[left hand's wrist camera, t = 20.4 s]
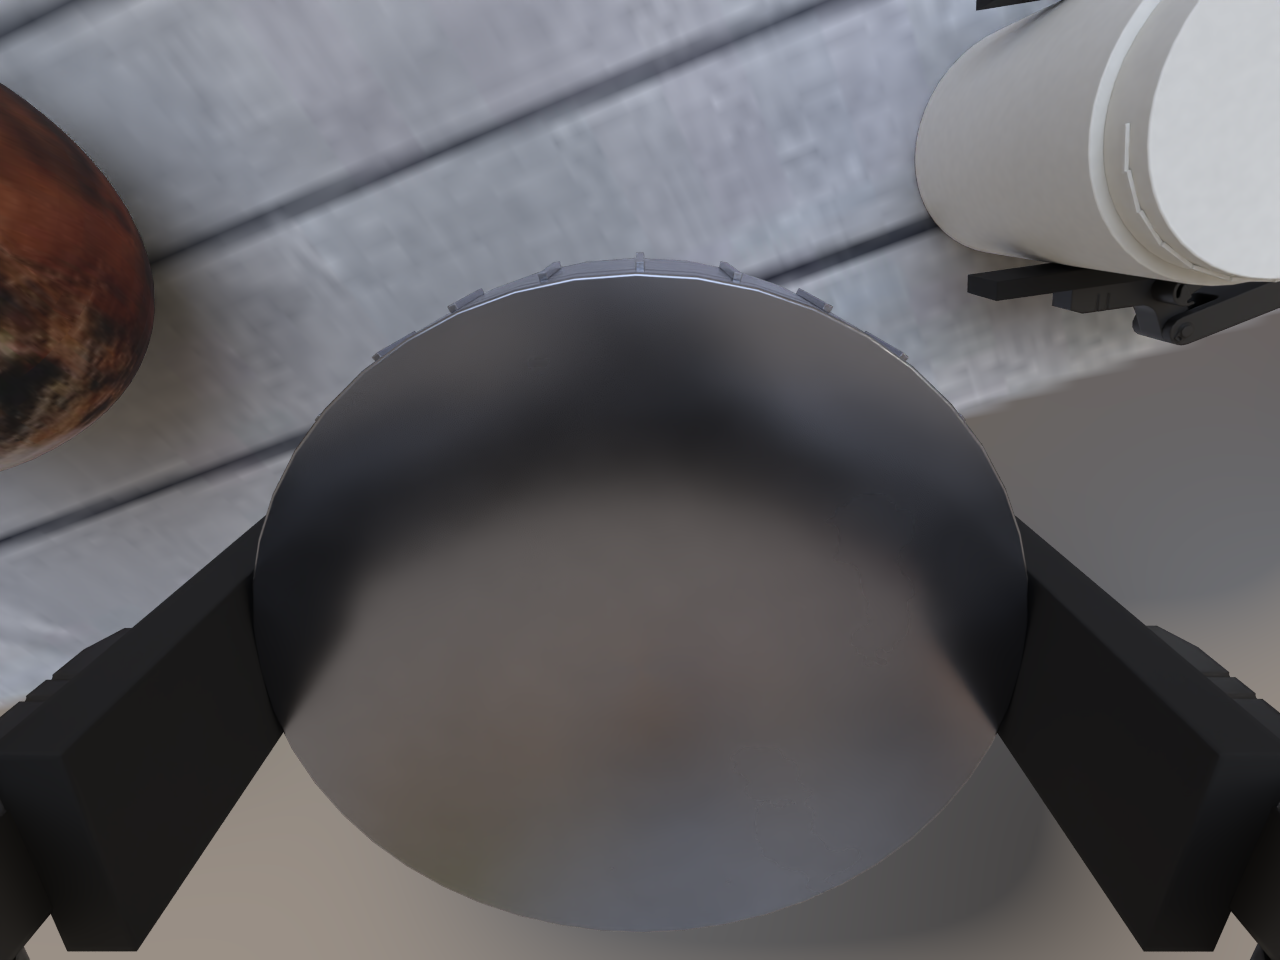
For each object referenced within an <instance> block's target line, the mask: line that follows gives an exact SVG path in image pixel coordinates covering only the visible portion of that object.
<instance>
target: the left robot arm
mask: <svg viewBox="0 0 1280 960" xmlns="http://www.w3.org/2000/svg"><path fill="white" fill-rule="evenodd" d="M265 517H266V516H264V517H263V518H262V519H261V520H260V521H258V522H257V523H256V524H255V525H254V526H252V527H251V528H250V529H249V530H248V531H247V532H245V533H244V534H243V535H242V536H241V537H239V538H238V539H237V540H236V541H235V542H234V543H232V544H231V545H230V546H229V547H228V548H226V549H225V550H224V551H223V552H222V553H220V554H219V555H218V556H217V557H216V558H215V559H213V560H212V561H211V562H210V563H209V564H207V565H206V566H205V567H204V568H203V569H201V570H200V571H199V572H198V573H197V574H196V575H194V576H193V577H192V578H191V579H190V580H188V581H187V582H186V583H185V584H184V585H183V586H181V587H180V588H179V589H178V590H177V591H175V592H174V593H173V594H172V595H171V596H169V597H168V598H167V599H166V600H165V601H164V602H162V603H161V604H160V605H159V606H158V607H156V608H155V609H154V610H153V611H152V612H150V613H149V614H148V615H147V616H146V617H145V618H143V619H142V620H141V621H140V622H139V623H137V624H136V625H135V626H134V627H133V628H124V629H122V630H120V631H118V632H116V633H114V634H112V635H111V636H109V637H107V638H105V639H103V640H101V641H99V642H97V643H95V644H93V645H91V646H90V647H88V648H86V649H84V650H83V651H81V652H80V653H79V654H78V655H76V656H75V657H74V658H73V659H71V660H70V661H69V662H68V663H66V664H65V665H64V666H63V667H62V668H60V669H59V670H58V671H57V672H55V673H54V674H53V677H52V680H45V681H44V682H43V683H42V684H40V685H39V686H38V687H37V688H36V689H34V690H33V691H32V692H31V693H29V694H28V695H27V696H26V701H25V702H18V703H17V704H16V705H15V706H13V707H12V708H11V709H10V710H8V711H7V712H6V713H5V714H3V715H2V716H1V717H0V960H30V959H29V957H28V955H27V952H26V950H25V948H24V945H25V944H26V943H27V942H28V941H29V939H30V938H31V937H32V936H33V934H34V933H35V932H36V931H37V930H38V928H39V927H40V926H41V925H42V924H43V922H44V921H45V920H46V919H47V918H48V916H49V915H50V914H51V915H52V918H53V920H54V922H55V924H56V927H57V929H58V931H59V933H60V936H61V938H62V940H63V943H64V945H65V947H66V949H67V951H137V950H138V949H139V947H140V946H141V944H142V943H143V941H144V940H145V938H146V937H147V935H148V934H149V932H150V931H151V929H152V928H153V926H154V925H155V923H156V922H157V920H158V919H159V917H160V916H161V914H162V913H163V911H164V910H165V908H166V907H167V905H168V904H169V902H170V901H171V899H172V898H173V896H174V895H175V893H176V892H177V890H178V889H179V887H180V886H181V884H182V883H183V881H184V880H185V878H186V877H187V875H188V874H189V872H190V871H191V869H192V868H193V867H194V865H195V864H196V862H197V861H198V859H199V858H200V856H201V855H202V853H203V852H204V850H205V849H206V847H207V846H208V844H209V843H210V841H211V840H212V838H213V837H214V835H215V834H216V832H217V831H218V829H219V828H220V826H221V825H222V823H223V822H224V820H225V819H226V817H227V816H228V814H229V813H230V811H231V810H232V808H233V807H234V805H235V804H236V802H237V801H238V799H239V798H240V796H241V795H242V793H243V792H244V790H245V789H246V787H247V786H248V784H249V783H250V781H251V780H252V778H253V777H254V775H255V774H256V772H257V771H258V769H259V768H260V766H261V765H262V763H263V762H264V760H265V759H266V757H267V756H268V755H269V753H270V752H271V750H272V748H273V747H274V746H275V744H276V743H277V741H278V739H279V738H280V737H281V735H282V734H283V730H282V728H281V726H280V724H279V722H278V720H277V718H276V716H275V714H274V712H273V709H272V706H271V703H270V700H269V697H268V694H267V691H266V688H265V684H264V680H263V676H262V673H261V668H260V664H259V659H258V655H257V650H256V645H255V639H254V633H253V611H252V582H253V575H254V568H255V561H256V554H257V547H258V540H259V537H260V533H261V530H262V527H263V524H264V521H265ZM1015 518H1016V521H1017V524H1018V527H1019V530H1020V533H1021V539H1022V545H1023V551H1024V557H1025V563H1026V569H1027V575H1028V630H1027V636H1026V643H1025V649H1024V654H1023V659H1022V664H1021V668H1020V672H1019V676H1018V680H1017V683H1016V687H1015V690H1014V693H1013V697H1012V700H1011V703H1010V706H1009V708H1008V711H1007V713H1006V715H1005V717H1004V719H1003V721H1002V723H1001V725H1000V728H999V730H998V732H997V733H998V734H999V736H1000V737H1001V739H1002V740H1003V742H1004V743H1005V745H1006V746H1007V748H1008V749H1009V751H1010V752H1011V754H1012V755H1013V757H1014V758H1015V760H1016V761H1017V763H1018V764H1019V766H1020V767H1021V769H1022V770H1023V772H1024V773H1025V775H1026V776H1027V778H1028V779H1029V781H1030V782H1031V784H1032V785H1033V787H1034V788H1035V790H1036V791H1037V793H1038V794H1039V796H1040V797H1041V798H1042V800H1043V802H1044V803H1045V805H1046V806H1047V808H1048V809H1049V810H1050V812H1051V813H1052V815H1053V817H1054V818H1055V820H1056V821H1057V822H1058V824H1059V825H1060V827H1061V828H1062V830H1063V831H1064V833H1065V834H1066V836H1067V837H1068V839H1069V840H1070V842H1071V843H1072V845H1073V846H1074V848H1075V849H1076V851H1077V852H1078V854H1079V855H1080V857H1081V858H1082V860H1083V861H1084V863H1085V864H1086V866H1087V867H1088V869H1089V870H1090V872H1091V873H1092V875H1093V876H1094V878H1095V879H1096V881H1097V882H1098V884H1099V885H1100V887H1101V888H1102V890H1103V891H1104V893H1105V894H1106V896H1107V897H1108V899H1109V900H1110V902H1111V903H1112V905H1113V906H1114V908H1115V909H1116V911H1117V912H1118V914H1119V915H1120V917H1121V918H1122V920H1123V921H1124V923H1125V924H1126V926H1127V927H1128V928H1129V930H1130V932H1131V933H1132V934H1133V936H1134V937H1135V939H1136V940H1137V942H1138V943H1139V945H1140V946H1141V948H1142V949H1143V951H1207V952H1210V951H1211V952H1212V951H1214V949H1215V946H1216V944H1217V942H1218V940H1219V937H1220V935H1221V933H1222V930H1223V928H1224V926H1225V924H1226V921H1227V919H1228V917H1229V915H1230V912H1232V913H1233V914H1234V915H1235V916H1236V918H1237V919H1238V920H1239V921H1240V922H1241V924H1242V925H1243V926H1244V927H1245V928H1246V930H1247V931H1248V932H1249V933H1250V934H1251V936H1252V937H1253V938H1254V939H1255V940H1256V942H1257V943H1258V944H1257V946H1256V948H1255V950H1254V952H1253V955H1252V957H1251V959H1250V960H1280V713H1279V712H1278V711H1277V710H1276V709H1274V708H1273V707H1272V706H1271V705H1269V704H1268V703H1267V702H1266V701H1264V700H1263V699H1257V698H1256V696H1255V693H1254V692H1253V691H1252V690H1251V689H1249V688H1248V687H1247V686H1246V685H1244V684H1243V683H1242V682H1241V681H1239V680H1238V679H1237V678H1235V677H1230V676H1229V672H1228V671H1227V670H1226V669H1224V668H1223V667H1222V666H1221V665H1219V664H1218V663H1217V662H1216V661H1214V660H1213V659H1212V658H1211V657H1210V656H1208V655H1207V654H1206V653H1205V652H1203V651H1202V650H1201V649H1200V648H1198V647H1197V646H1195V645H1193V644H1191V643H1189V642H1187V641H1185V640H1183V639H1181V638H1179V637H1177V636H1175V635H1174V634H1172V633H1170V632H1168V631H1166V630H1164V629H1162V628H1160V627H1158V626H1145V625H1144V624H1143V623H1142V622H1141V621H1140V620H1138V619H1137V618H1136V617H1135V616H1134V615H1132V614H1131V613H1130V612H1129V611H1128V610H1126V609H1125V608H1124V607H1123V606H1122V605H1120V604H1119V603H1118V602H1117V601H1116V600H1115V599H1113V598H1112V597H1111V596H1110V595H1109V594H1107V593H1106V592H1105V591H1104V590H1103V589H1102V588H1100V587H1099V586H1098V585H1097V584H1096V583H1094V582H1093V581H1092V580H1091V579H1090V578H1089V577H1087V576H1086V575H1085V574H1084V573H1083V572H1081V571H1080V570H1079V569H1078V568H1077V567H1075V566H1074V565H1073V564H1072V563H1071V562H1069V561H1068V560H1067V559H1066V558H1065V557H1064V556H1062V555H1061V554H1060V553H1059V552H1058V551H1056V550H1055V549H1054V548H1053V547H1052V546H1051V545H1049V544H1048V543H1047V542H1046V541H1045V540H1043V539H1042V538H1041V537H1040V536H1039V535H1037V534H1036V533H1035V532H1034V531H1033V530H1032V529H1030V528H1029V527H1028V526H1027V525H1026V524H1024V523H1023V522H1022V521H1021V520H1020V519H1019V518H1017V517H1016V516H1015Z"/></svg>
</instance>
